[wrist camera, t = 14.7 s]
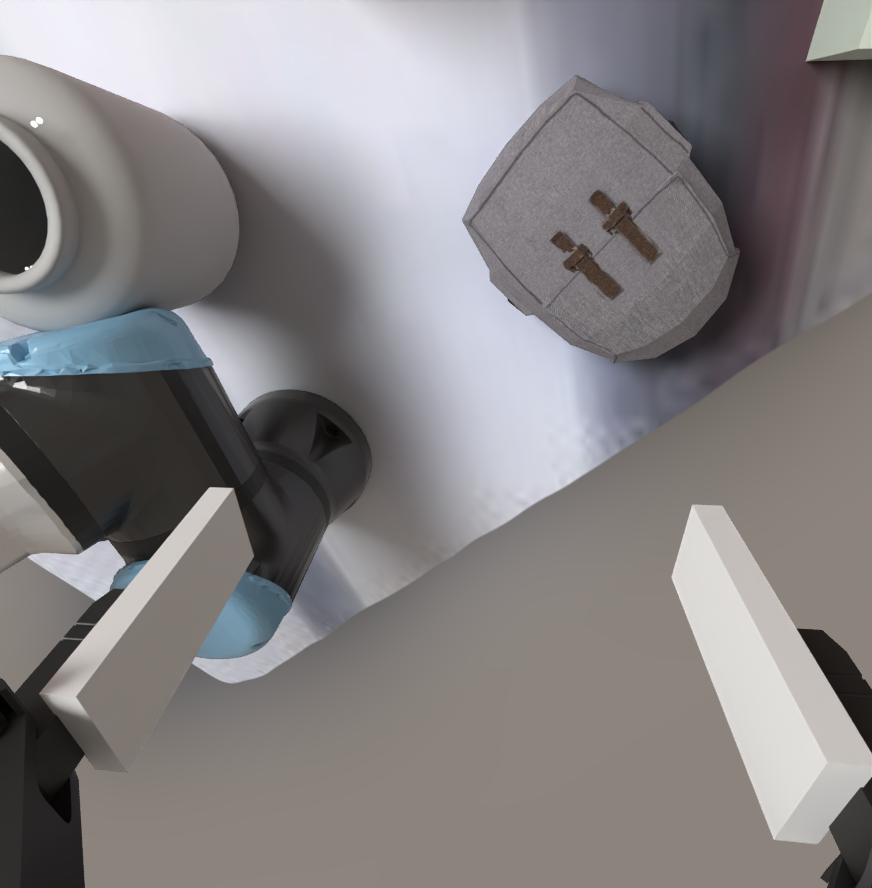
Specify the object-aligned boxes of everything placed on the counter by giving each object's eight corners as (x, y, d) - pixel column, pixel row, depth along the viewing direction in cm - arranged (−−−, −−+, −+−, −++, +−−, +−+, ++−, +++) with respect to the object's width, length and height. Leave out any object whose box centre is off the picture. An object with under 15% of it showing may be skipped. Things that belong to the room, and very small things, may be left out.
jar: (146, 378, 46) (-108, 445, 22) (-1, 255, 42) (-500, 175, 18) (285, 225, 44) (175, 115, 20) (144, 83, 41) (-198, -258, 17)
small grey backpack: (443, 226, 41) (611, 379, 46) (427, 246, 34) (628, 424, 39) (586, 40, 34) (768, 246, 38) (603, 17, 27) (823, 272, 31)
